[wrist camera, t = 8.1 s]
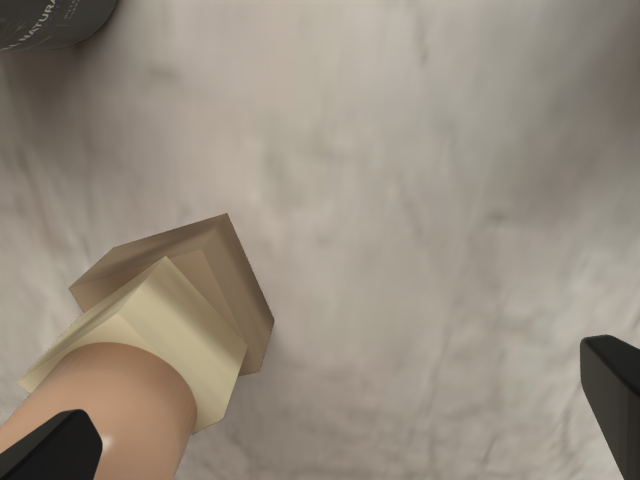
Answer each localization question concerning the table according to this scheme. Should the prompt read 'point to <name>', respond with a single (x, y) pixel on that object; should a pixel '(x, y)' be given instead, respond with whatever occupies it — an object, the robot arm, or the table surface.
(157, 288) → the oak block
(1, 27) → the supplement bottle
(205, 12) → the table surface
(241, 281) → the walnut block
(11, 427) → the peach cylinder
